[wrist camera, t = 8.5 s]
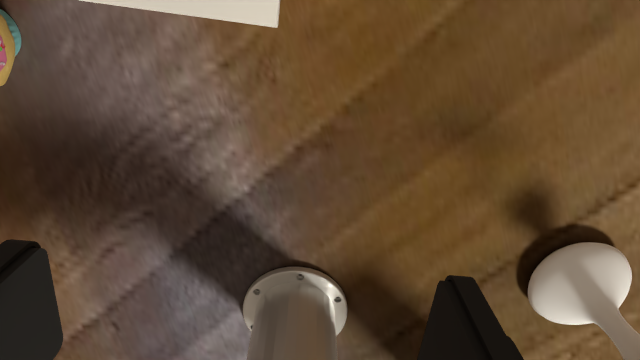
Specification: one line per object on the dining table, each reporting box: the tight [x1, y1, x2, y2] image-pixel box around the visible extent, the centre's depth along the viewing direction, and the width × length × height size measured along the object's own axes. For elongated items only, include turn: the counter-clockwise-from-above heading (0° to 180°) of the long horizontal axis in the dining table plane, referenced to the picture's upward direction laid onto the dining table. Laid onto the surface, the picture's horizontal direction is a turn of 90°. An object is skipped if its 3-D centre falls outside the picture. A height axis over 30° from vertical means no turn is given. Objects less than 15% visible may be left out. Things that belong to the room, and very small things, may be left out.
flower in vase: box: [528, 242, 640, 360], centre depth 38 cm, size 13×11×25 cm
